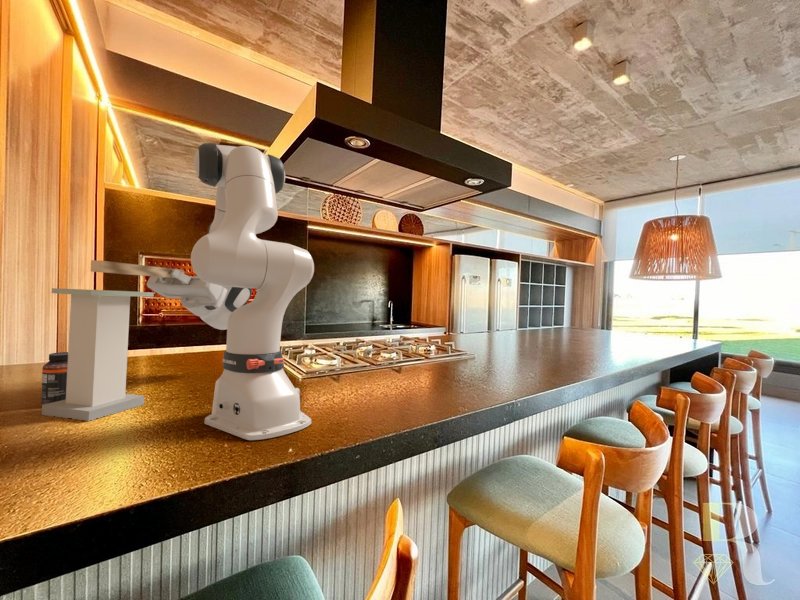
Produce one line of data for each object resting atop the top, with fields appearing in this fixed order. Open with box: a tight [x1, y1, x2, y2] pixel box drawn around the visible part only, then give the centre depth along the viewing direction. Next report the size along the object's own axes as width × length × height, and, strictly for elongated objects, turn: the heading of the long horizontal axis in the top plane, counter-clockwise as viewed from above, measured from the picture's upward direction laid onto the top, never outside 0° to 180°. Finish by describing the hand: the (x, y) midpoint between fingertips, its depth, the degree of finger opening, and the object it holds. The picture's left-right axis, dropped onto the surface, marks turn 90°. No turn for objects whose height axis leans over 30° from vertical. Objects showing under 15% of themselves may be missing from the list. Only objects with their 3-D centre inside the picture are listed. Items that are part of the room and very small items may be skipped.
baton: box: [90, 259, 185, 278], centre depth 86 cm, size 22×3×2 cm, turn 169°
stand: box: [41, 287, 155, 422], centre depth 77 cm, size 14×12×26 cm
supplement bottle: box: [40, 351, 68, 406], centre depth 79 cm, size 6×6×11 cm
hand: (165, 270), depth 92 cm, fingers closed on baton, 3 cm apart
